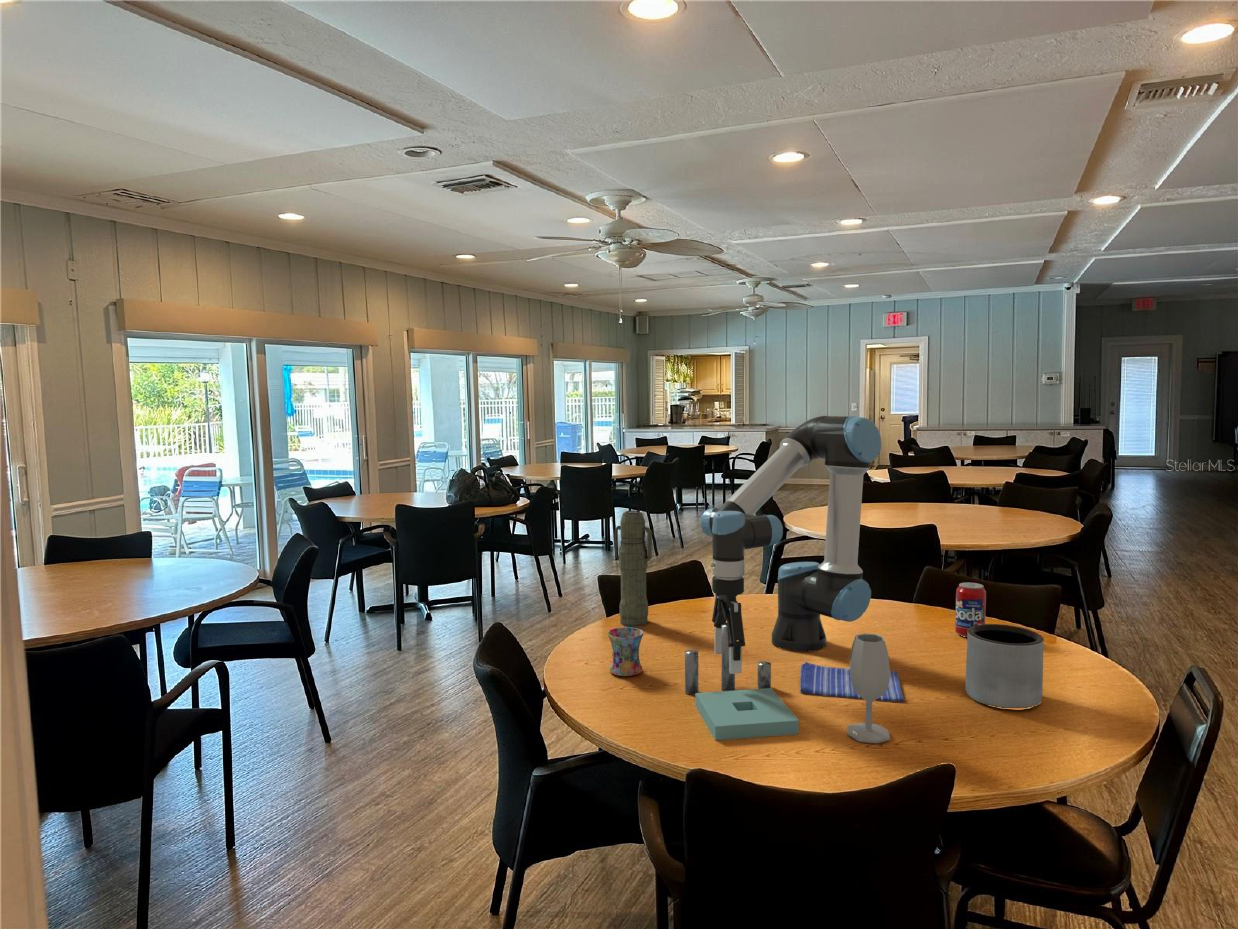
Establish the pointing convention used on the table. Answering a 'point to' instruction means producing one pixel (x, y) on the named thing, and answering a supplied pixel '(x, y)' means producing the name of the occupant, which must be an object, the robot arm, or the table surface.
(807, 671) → the dish towel
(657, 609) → the table surface
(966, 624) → the soda can
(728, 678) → the long pin
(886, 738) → the wineglass
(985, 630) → the planter
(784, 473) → the robot arm
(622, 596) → the thermos
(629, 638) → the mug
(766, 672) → the short pin
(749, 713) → the hole block
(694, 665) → the medium pin
